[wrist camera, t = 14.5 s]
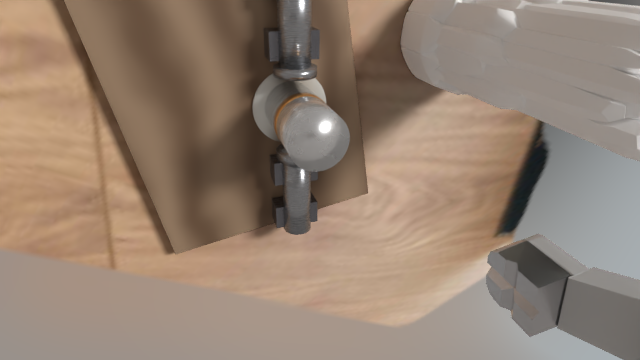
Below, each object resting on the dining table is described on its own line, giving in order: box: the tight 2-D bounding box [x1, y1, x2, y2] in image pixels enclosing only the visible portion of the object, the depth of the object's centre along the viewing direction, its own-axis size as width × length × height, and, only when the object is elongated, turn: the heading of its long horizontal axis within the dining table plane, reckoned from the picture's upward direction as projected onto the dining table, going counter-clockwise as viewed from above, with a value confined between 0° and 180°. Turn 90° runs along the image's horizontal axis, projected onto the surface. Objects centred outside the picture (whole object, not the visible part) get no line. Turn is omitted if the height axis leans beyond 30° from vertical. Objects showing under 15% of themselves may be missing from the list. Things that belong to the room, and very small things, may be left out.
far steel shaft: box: [269, 144, 318, 235], centre depth 41 cm, size 9×4×4 cm, turn 179°
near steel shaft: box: [263, 0, 320, 81], centre depth 34 cm, size 9×4×4 cm, turn 179°
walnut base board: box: [64, 0, 368, 254], centre depth 39 cm, size 22×26×2 cm
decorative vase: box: [400, 0, 640, 161], centre depth 32 cm, size 11×11×25 cm
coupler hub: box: [265, 81, 350, 172], centre depth 35 cm, size 5×5×9 cm
